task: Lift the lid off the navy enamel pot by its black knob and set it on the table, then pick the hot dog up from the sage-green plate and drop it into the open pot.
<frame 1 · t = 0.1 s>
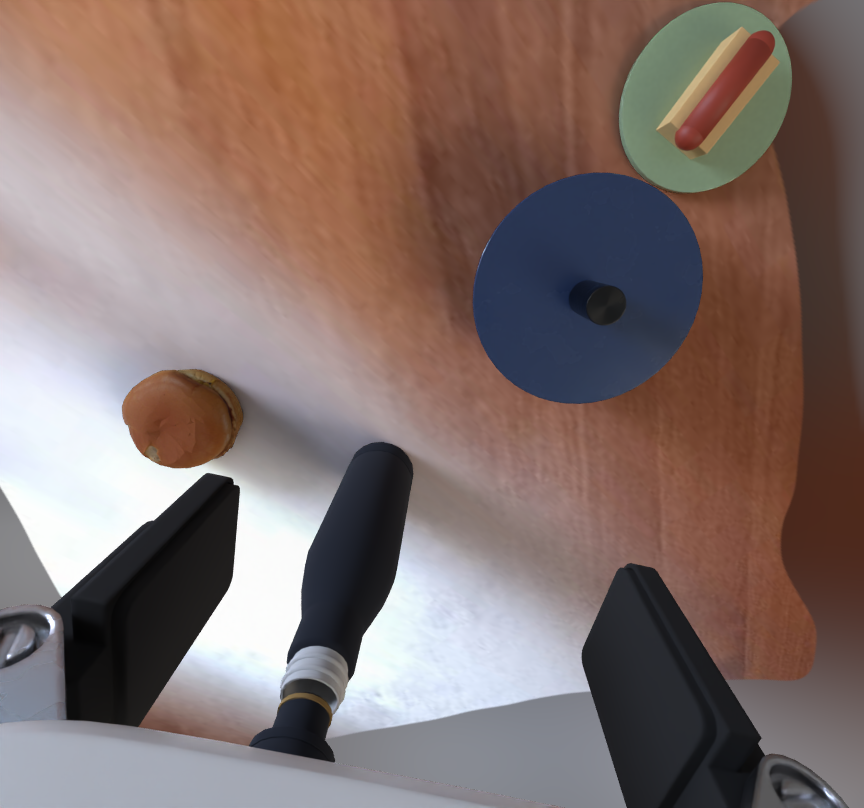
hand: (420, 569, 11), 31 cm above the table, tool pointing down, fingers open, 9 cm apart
plate: (700, 105, 34), on the table
pot lid: (583, 297, 32), point 7 cm above the table, touching pot
black bottle: (382, 469, 45), on the table
hot dog: (705, 103, 33), point 1 cm above the table, touching plate
burger: (196, 411, 44), on the table
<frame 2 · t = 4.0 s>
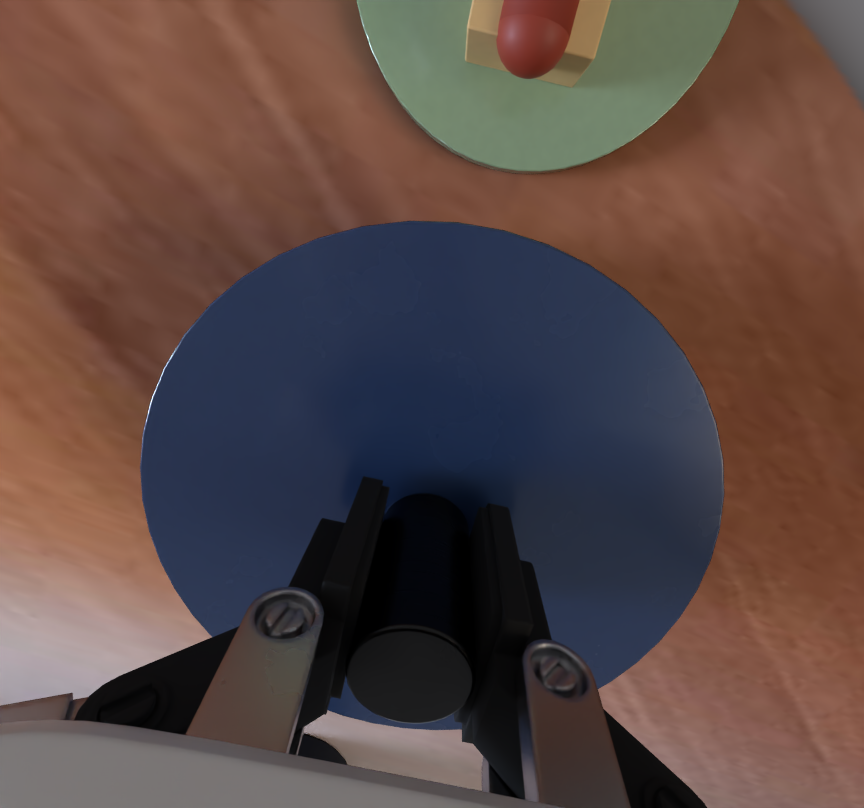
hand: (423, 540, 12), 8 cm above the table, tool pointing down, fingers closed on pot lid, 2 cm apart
pot lid: (425, 519, 13), point 7 cm above the table, touching gripper, pot
black bottle: (298, 765, 27), on the table
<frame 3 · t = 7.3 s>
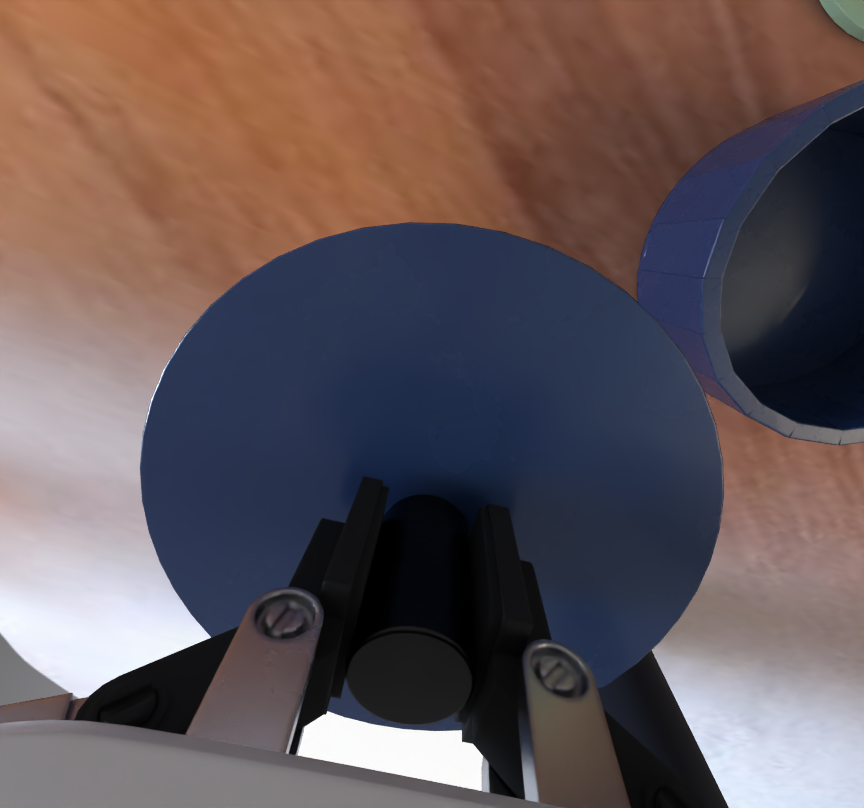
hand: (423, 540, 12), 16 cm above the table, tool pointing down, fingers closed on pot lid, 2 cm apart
pot lid: (425, 520, 13), point 15 cm above the table, touching gripper
black bottle: (574, 593, 33), on the table
pot: (774, 268, 24), on the table
when the fingers open (2 cm above the table, at t = 10.6 s): pot lid stays where it is, point 1 cm above the table.
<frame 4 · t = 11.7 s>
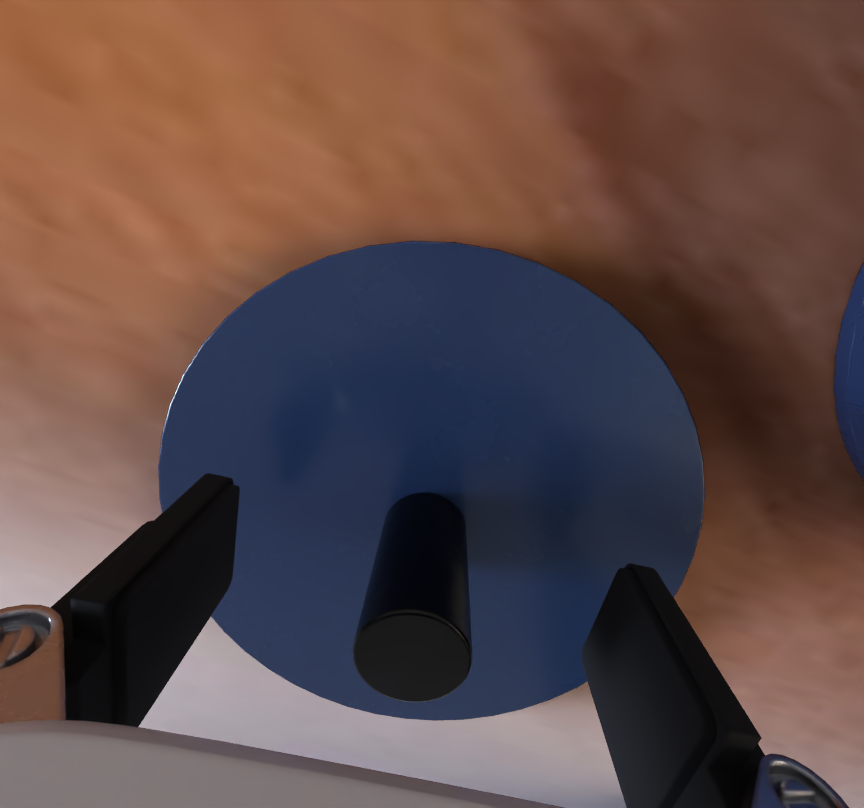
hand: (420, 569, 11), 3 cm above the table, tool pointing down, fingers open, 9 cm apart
pot lid: (425, 517, 14), point 1 cm above the table
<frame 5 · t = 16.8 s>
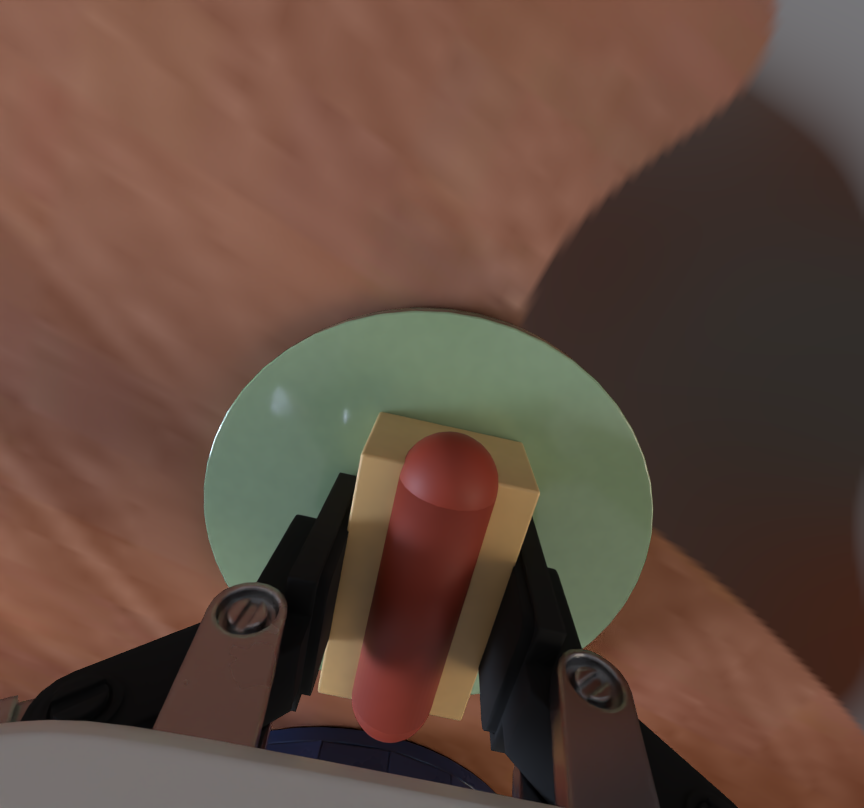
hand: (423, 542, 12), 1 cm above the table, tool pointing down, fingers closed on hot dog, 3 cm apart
plate: (425, 521, 13), on the table
hot dog: (423, 536, 12), point 1 cm above the table, touching gripper, plate
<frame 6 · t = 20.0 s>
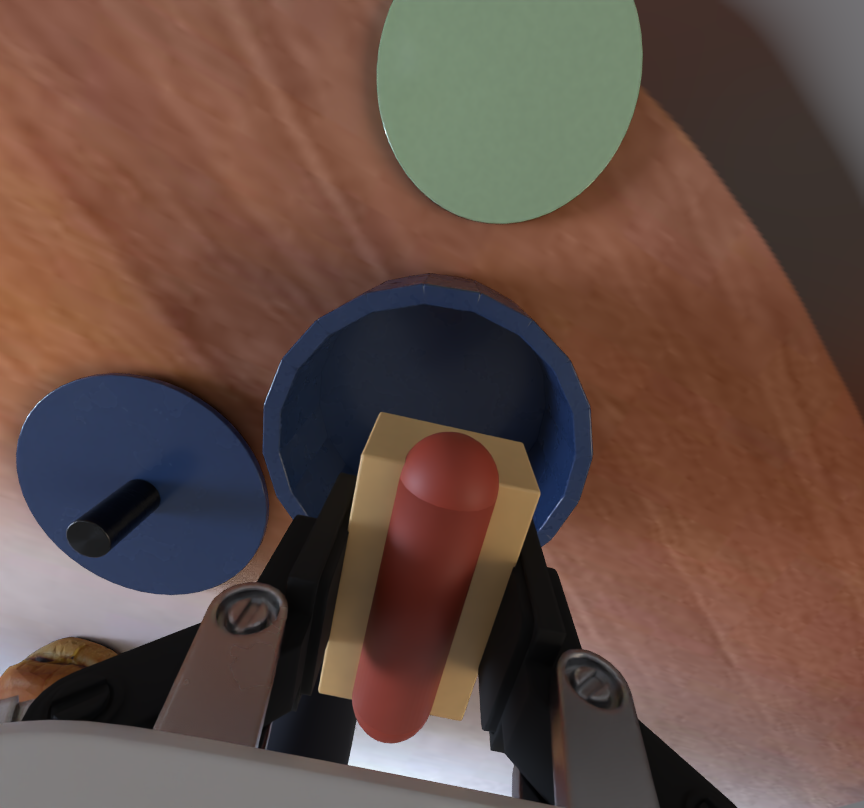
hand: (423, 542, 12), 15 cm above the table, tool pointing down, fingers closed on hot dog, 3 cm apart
plate: (505, 86, 21), on the table
pot lid: (147, 491, 29), point 1 cm above the table
black bottle: (323, 675, 35), on the table
hot dog: (424, 536, 12), point 15 cm above the table, touching gripper
pot: (431, 402, 26), on the table
burger: (88, 676, 36), on the table
when the fingers open (4 cm above the table, at t = 23.1 s): hot dog drops 3 cm, resting on pot.
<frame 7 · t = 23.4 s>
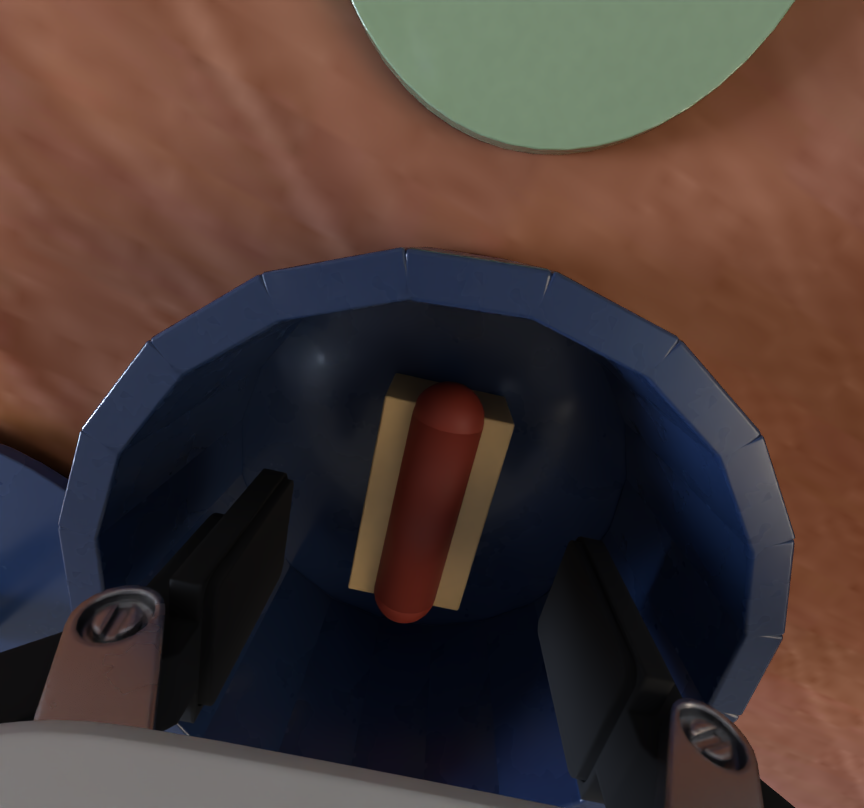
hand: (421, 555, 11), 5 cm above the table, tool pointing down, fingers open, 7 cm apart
hot dog: (428, 474, 15), point 1 cm above the table, touching pot
pot: (431, 468, 16), on the table
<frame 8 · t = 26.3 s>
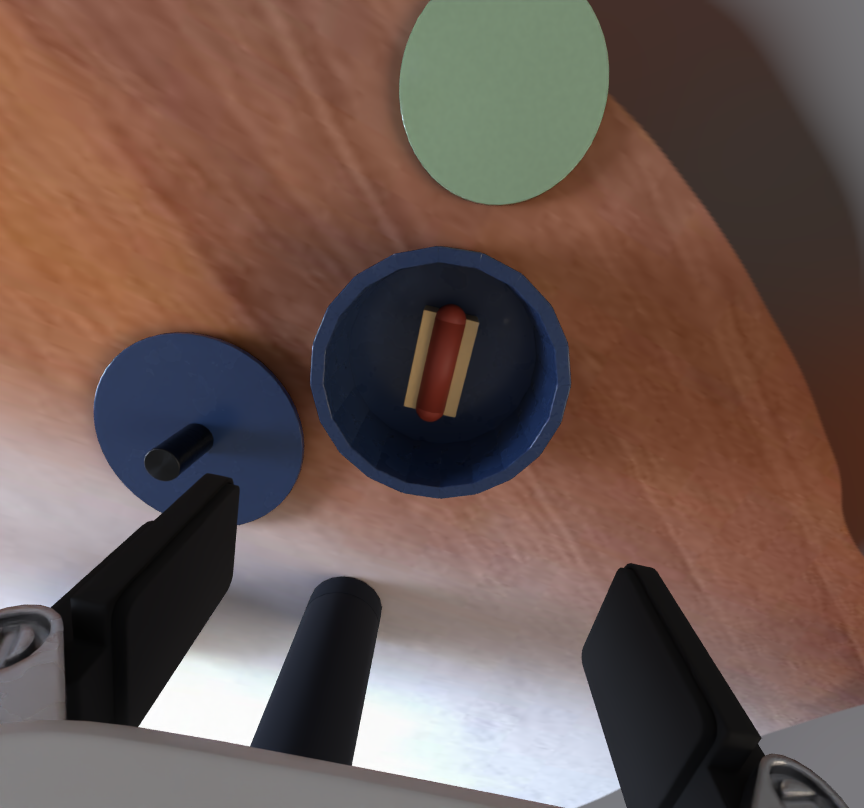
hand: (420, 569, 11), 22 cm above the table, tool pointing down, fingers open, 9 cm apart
plate: (501, 95, 26), on the table
pot lid: (201, 435, 34), point 1 cm above the table
black bottle: (346, 603, 40), on the table
hot dog: (440, 357, 31), point 1 cm above the table, touching pot
pot: (441, 356, 32), on the table
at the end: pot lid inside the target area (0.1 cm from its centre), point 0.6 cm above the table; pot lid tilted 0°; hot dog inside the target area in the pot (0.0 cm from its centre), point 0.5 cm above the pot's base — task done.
